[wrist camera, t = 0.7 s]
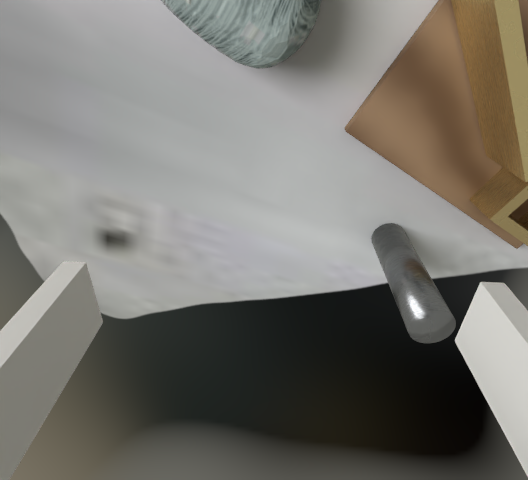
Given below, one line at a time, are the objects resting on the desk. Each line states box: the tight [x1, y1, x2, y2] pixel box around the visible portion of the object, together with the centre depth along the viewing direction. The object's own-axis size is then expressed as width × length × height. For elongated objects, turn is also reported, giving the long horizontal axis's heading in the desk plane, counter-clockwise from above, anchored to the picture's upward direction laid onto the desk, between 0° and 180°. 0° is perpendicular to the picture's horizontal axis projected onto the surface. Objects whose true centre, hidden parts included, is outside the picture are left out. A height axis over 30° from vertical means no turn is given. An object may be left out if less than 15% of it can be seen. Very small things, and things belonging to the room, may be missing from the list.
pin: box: [372, 223, 456, 343], centre depth 32 cm, size 3×3×13 cm
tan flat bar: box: [451, 0, 528, 182], centre depth 26 cm, size 13×1×6 cm, turn 28°
